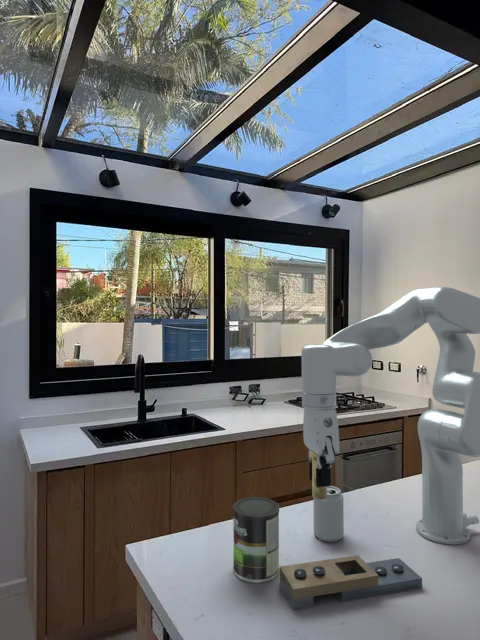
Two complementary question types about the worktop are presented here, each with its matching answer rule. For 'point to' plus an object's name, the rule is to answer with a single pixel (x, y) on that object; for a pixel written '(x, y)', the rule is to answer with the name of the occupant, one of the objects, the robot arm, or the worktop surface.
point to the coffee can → (256, 539)
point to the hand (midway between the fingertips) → (319, 482)
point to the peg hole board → (345, 579)
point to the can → (329, 516)
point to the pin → (317, 492)
